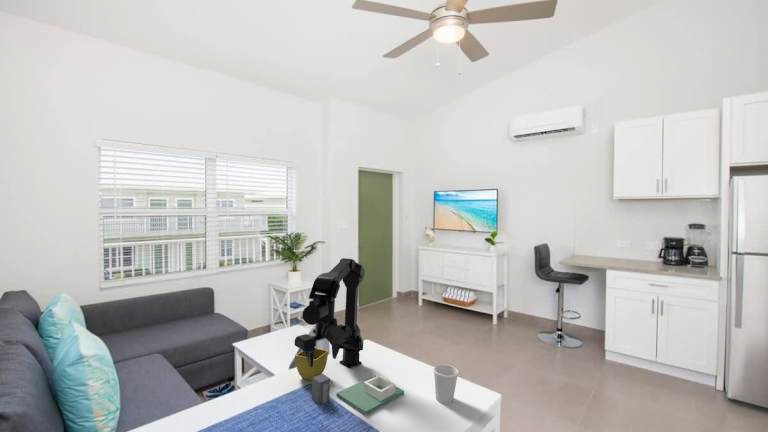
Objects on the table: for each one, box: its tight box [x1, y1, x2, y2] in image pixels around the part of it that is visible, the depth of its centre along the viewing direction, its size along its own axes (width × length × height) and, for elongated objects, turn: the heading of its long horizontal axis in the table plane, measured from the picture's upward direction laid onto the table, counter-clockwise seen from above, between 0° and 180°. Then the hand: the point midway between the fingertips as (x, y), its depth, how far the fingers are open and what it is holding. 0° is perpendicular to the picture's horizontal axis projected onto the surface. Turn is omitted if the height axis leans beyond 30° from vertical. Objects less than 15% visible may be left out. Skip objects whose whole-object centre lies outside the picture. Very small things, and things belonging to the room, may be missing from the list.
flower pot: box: [295, 347, 329, 382], centre depth 126 cm, size 9×9×9 cm
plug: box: [311, 373, 331, 405], centre depth 111 cm, size 4×4×7 cm
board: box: [336, 375, 405, 416], centre depth 115 cm, size 14×18×4 cm
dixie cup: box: [433, 363, 460, 405], centre depth 115 cm, size 8×8×10 cm
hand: (323, 362), depth 111 cm, fingers open, 9 cm apart
